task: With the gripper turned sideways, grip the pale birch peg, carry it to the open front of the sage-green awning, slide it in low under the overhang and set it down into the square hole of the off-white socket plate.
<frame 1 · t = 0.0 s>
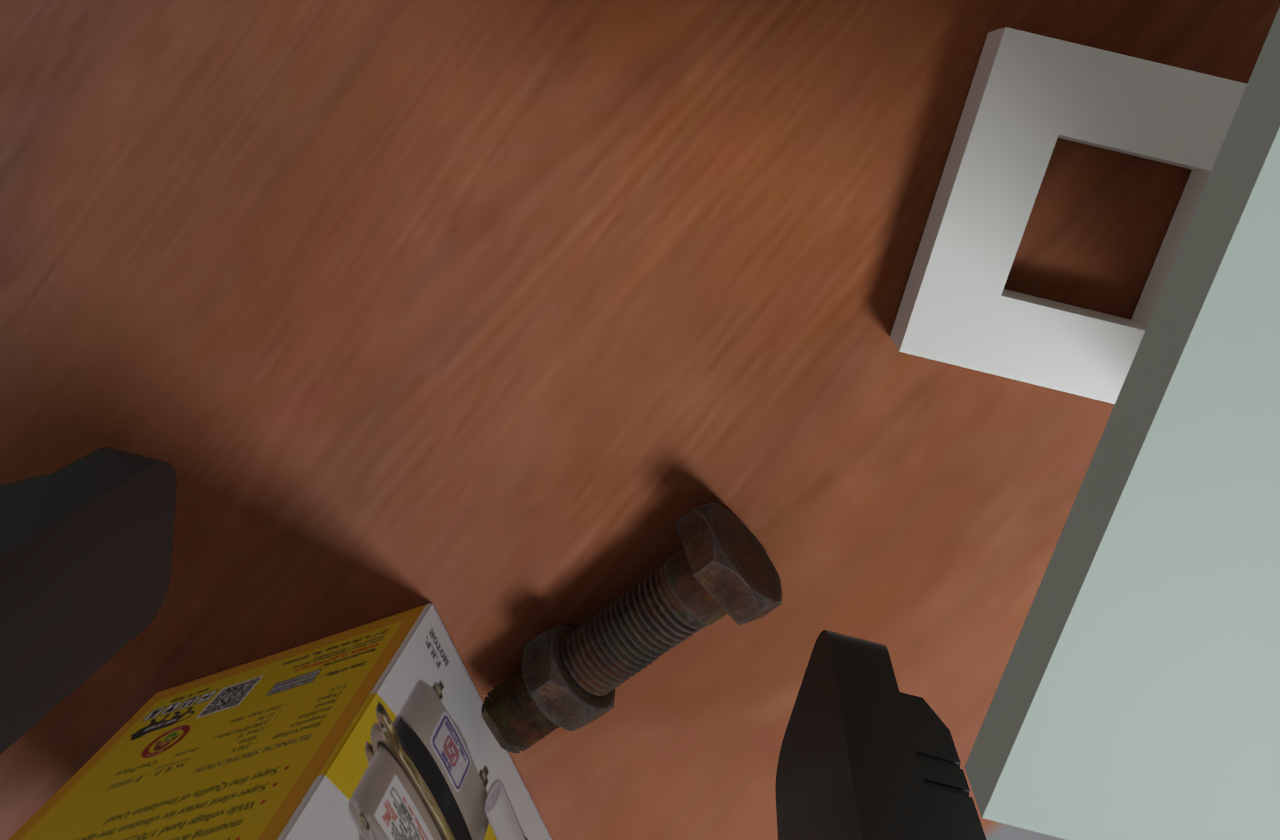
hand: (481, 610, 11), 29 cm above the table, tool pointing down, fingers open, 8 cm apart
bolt: (622, 612, 45), on the table
socket plate: (1085, 228, 37), on the table
awning: (1085, 228, 37), on the table
packaging box: (363, 775, 49), on the table
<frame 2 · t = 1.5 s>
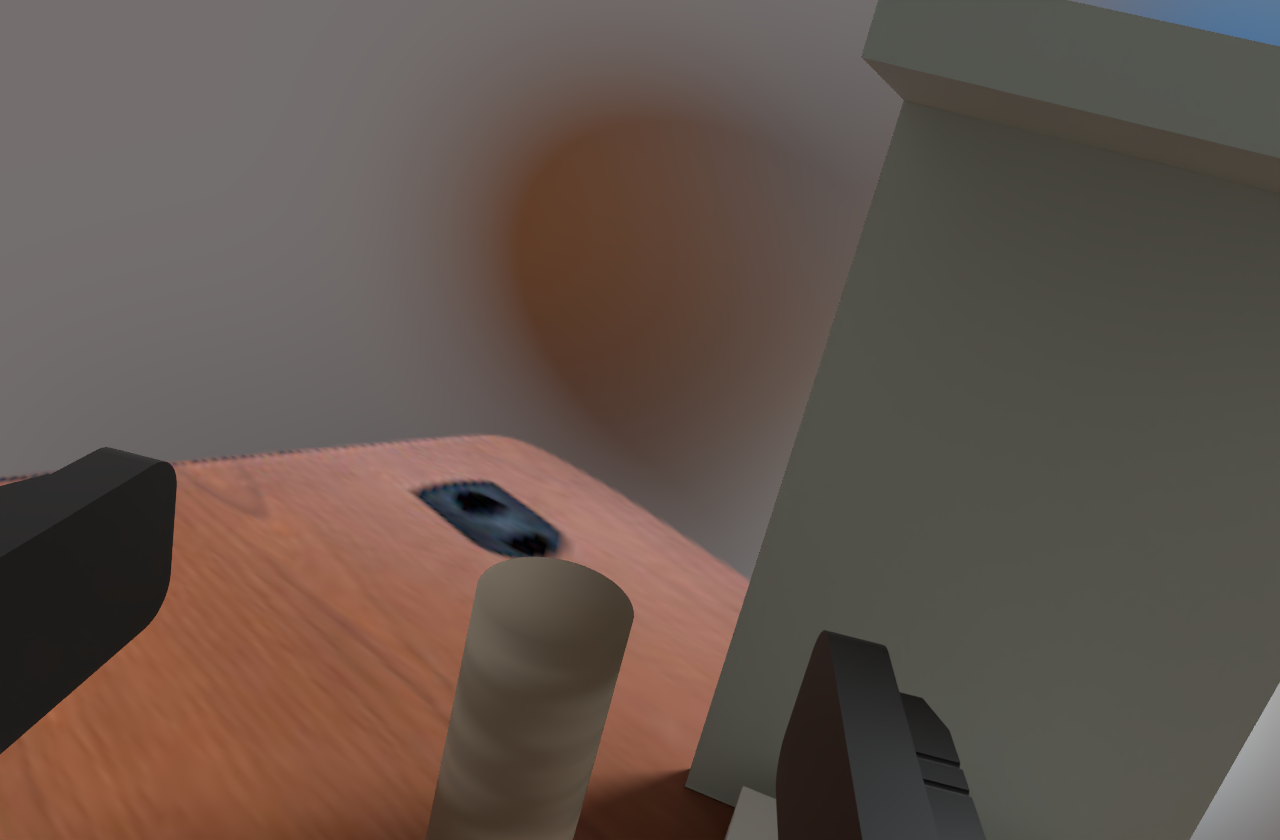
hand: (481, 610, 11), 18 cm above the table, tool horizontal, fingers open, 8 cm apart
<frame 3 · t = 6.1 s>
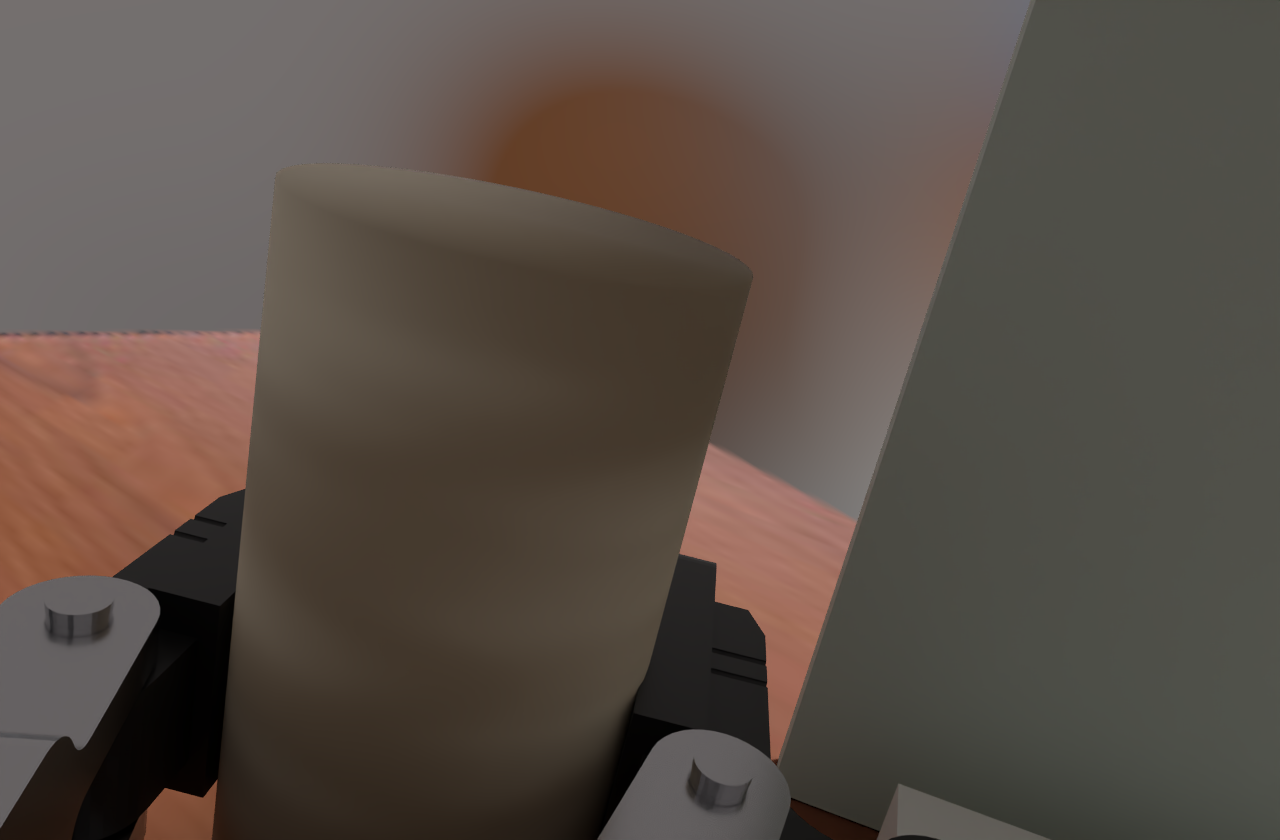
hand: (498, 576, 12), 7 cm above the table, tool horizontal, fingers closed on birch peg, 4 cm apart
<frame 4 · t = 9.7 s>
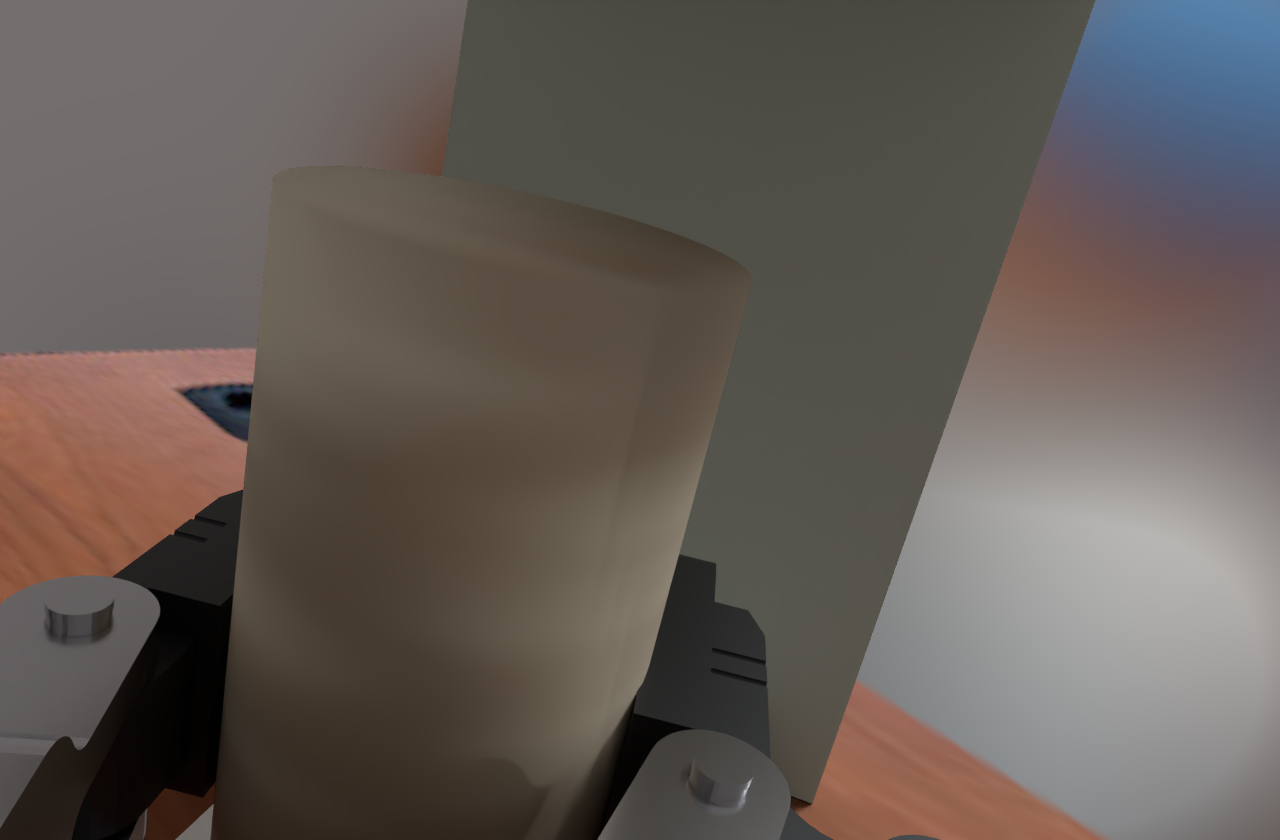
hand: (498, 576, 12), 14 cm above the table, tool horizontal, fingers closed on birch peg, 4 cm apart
when the fingers open (8 cm above the table, at t = 13.3 s): birch peg drops 1 cm, resting in socket plate.
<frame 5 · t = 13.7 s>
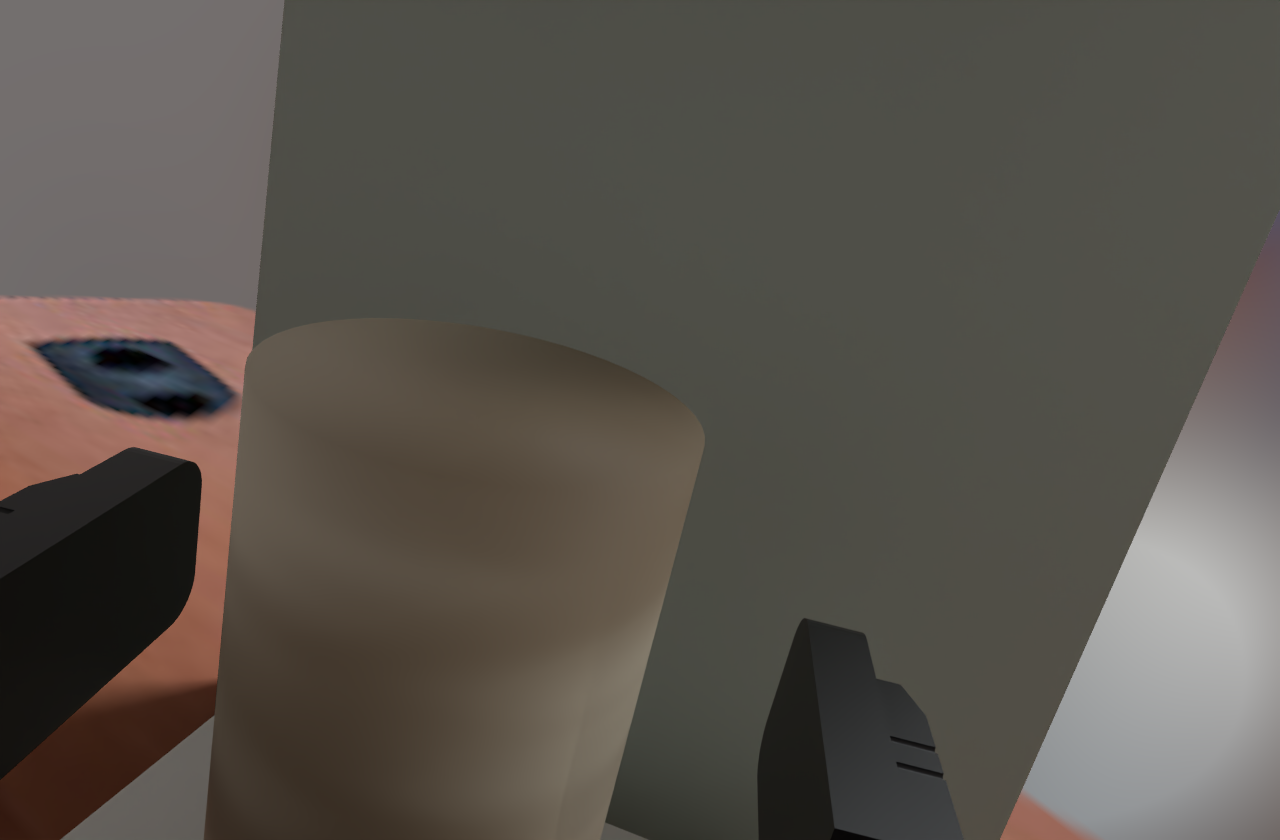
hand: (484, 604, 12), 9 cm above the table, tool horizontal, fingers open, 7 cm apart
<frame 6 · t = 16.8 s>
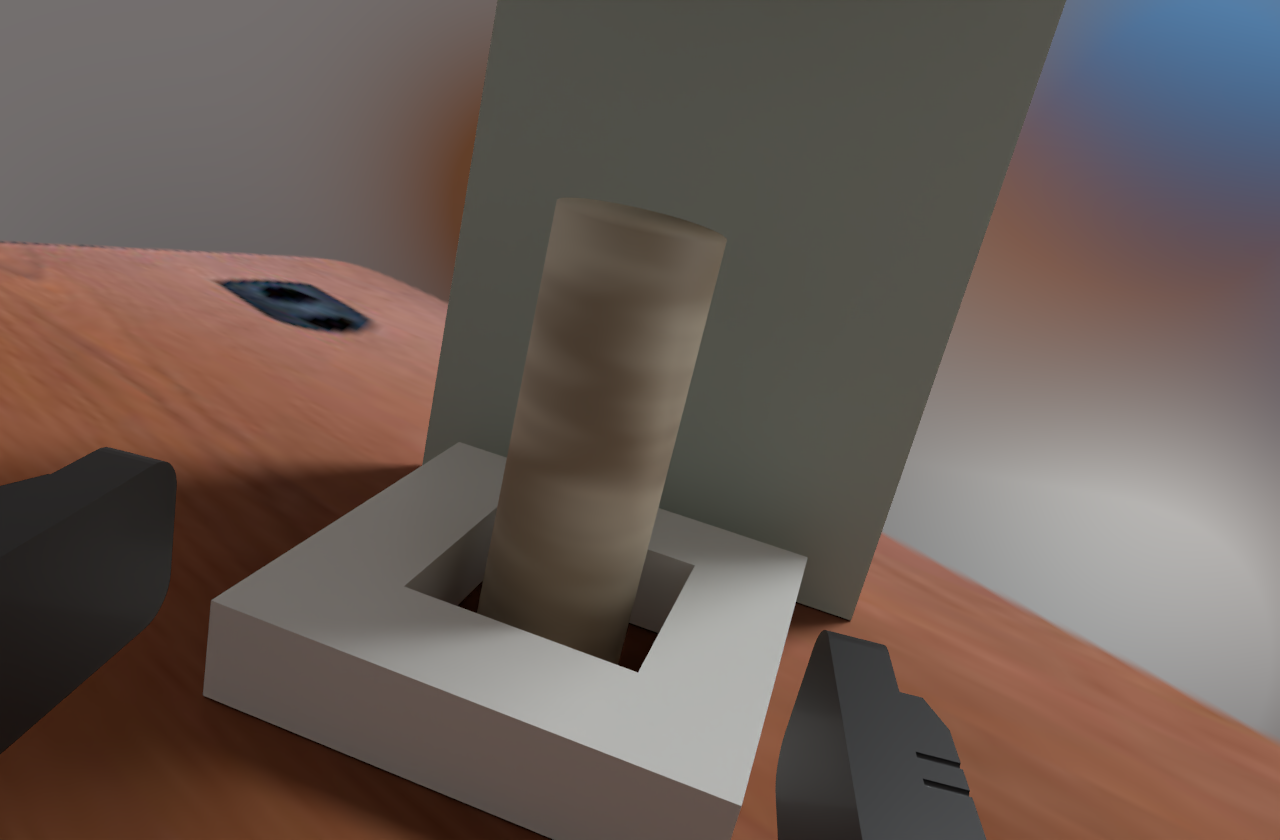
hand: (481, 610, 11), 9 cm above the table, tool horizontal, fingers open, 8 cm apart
socket plate: (544, 654, 26), on the table
awning: (544, 654, 26), on the table
birch peg: (544, 656, 26), resting in socket plate
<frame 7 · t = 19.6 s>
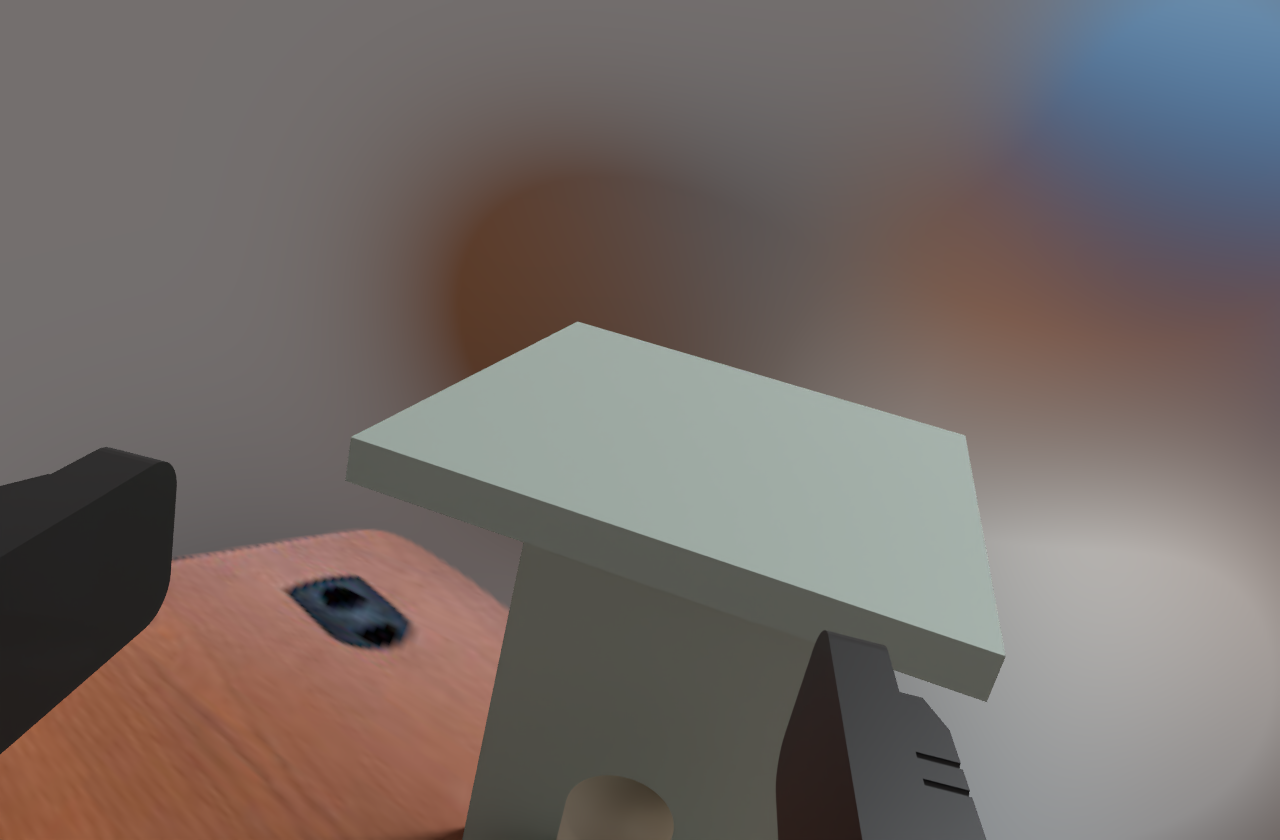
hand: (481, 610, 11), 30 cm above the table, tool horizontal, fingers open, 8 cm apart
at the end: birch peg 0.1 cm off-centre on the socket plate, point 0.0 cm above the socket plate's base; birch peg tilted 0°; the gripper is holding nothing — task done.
